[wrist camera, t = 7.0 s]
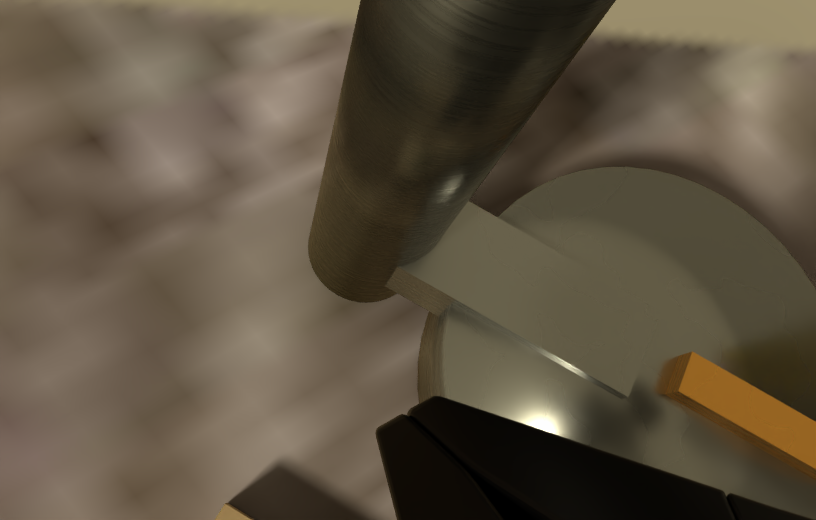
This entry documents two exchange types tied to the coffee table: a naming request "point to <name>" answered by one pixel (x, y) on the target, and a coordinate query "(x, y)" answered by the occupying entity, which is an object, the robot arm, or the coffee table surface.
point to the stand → (231, 514)
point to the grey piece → (562, 259)
